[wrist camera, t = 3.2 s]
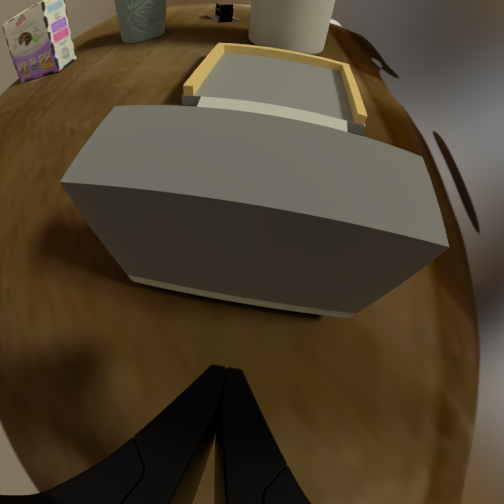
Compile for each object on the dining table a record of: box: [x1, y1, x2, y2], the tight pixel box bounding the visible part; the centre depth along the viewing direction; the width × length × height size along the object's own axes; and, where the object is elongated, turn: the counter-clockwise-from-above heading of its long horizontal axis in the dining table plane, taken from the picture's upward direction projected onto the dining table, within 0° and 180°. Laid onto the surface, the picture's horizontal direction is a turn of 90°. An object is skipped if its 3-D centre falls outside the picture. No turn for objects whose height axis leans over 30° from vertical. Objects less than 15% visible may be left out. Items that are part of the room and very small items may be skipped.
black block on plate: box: [207, 2, 241, 23], centre depth 41 cm, size 12×7×5 cm, turn 20°
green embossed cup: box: [115, 0, 166, 43], centre depth 31 cm, size 10×10×12 cm
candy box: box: [2, 0, 77, 83], centre depth 24 cm, size 14×6×16 cm, turn 80°
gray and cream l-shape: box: [60, 105, 449, 318], centre depth 14 cm, size 12×12×10 cm
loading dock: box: [182, 43, 368, 135], centre depth 25 cm, size 20×18×3 cm
